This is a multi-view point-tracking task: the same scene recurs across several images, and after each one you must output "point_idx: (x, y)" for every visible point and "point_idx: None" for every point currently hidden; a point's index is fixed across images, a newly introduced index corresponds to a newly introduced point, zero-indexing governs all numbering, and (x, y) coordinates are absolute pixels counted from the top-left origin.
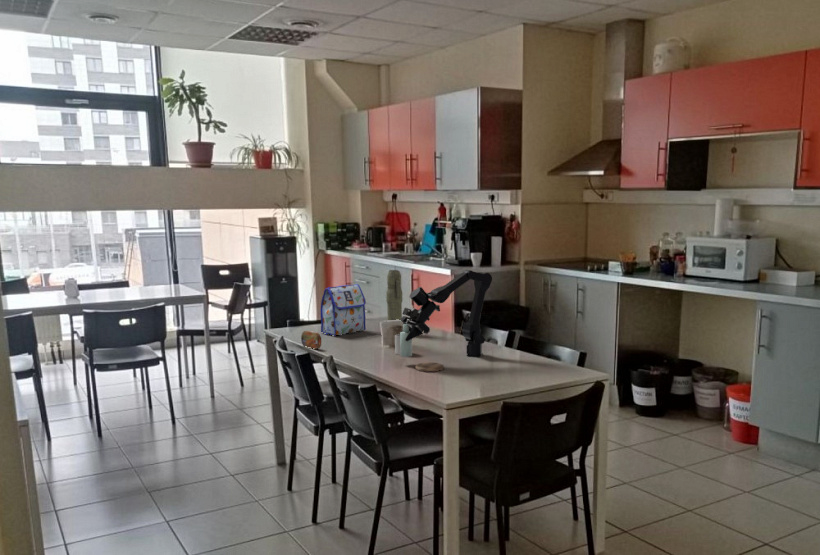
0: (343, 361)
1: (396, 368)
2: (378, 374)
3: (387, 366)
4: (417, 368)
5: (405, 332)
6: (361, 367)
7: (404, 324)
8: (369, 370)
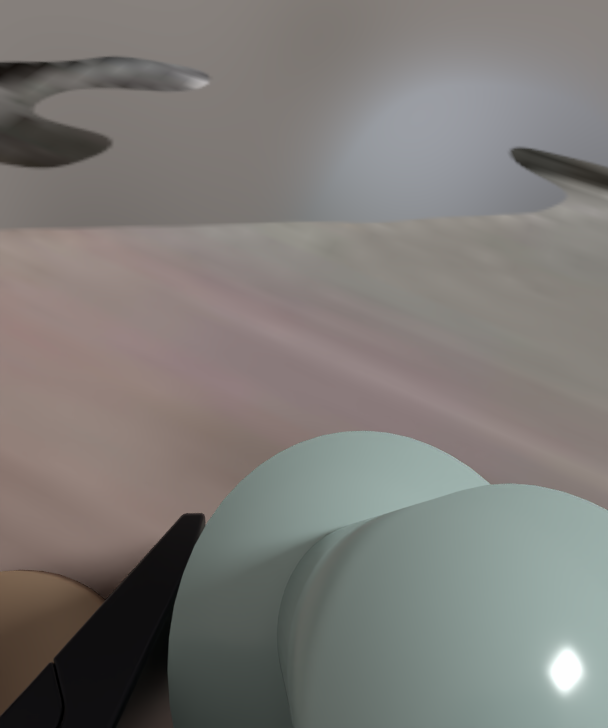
0: (558, 215)
1: (208, 425)
2: (129, 245)
3: (309, 390)
4: (2, 571)
5: (298, 570)
6: (365, 236)
7: (571, 622)
8: (264, 243)
